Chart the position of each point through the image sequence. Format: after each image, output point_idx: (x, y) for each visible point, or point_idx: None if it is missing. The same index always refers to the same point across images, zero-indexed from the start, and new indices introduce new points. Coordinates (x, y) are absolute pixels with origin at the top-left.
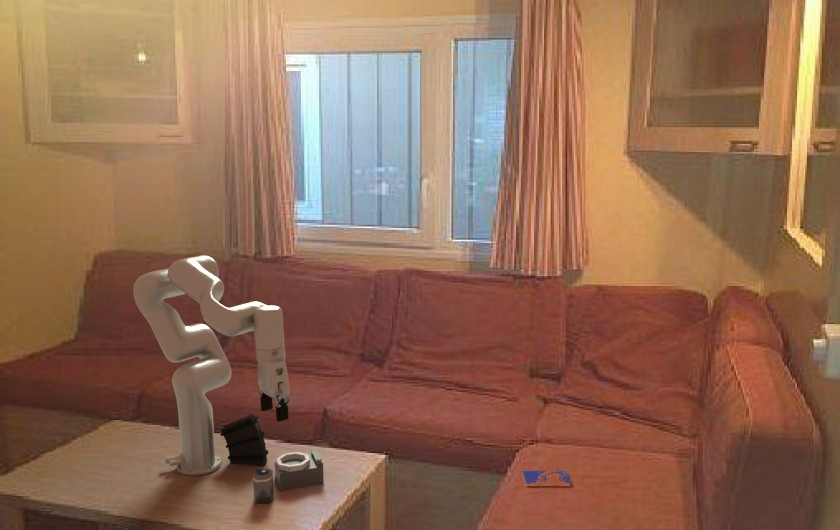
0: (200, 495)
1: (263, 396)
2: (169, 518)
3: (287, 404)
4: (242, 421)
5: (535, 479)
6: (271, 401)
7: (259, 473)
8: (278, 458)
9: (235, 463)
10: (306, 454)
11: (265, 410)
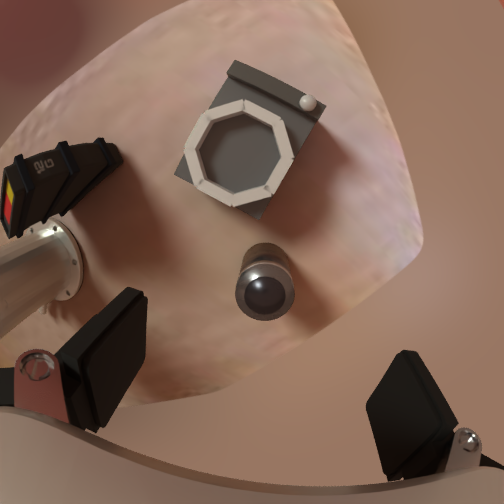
0: (152, 328)
1: (86, 418)
2: (193, 392)
3: (471, 439)
4: (15, 208)
5: None
6: (118, 334)
7: (270, 311)
8: (197, 180)
9: (77, 202)
10: (244, 102)
11: (144, 343)
